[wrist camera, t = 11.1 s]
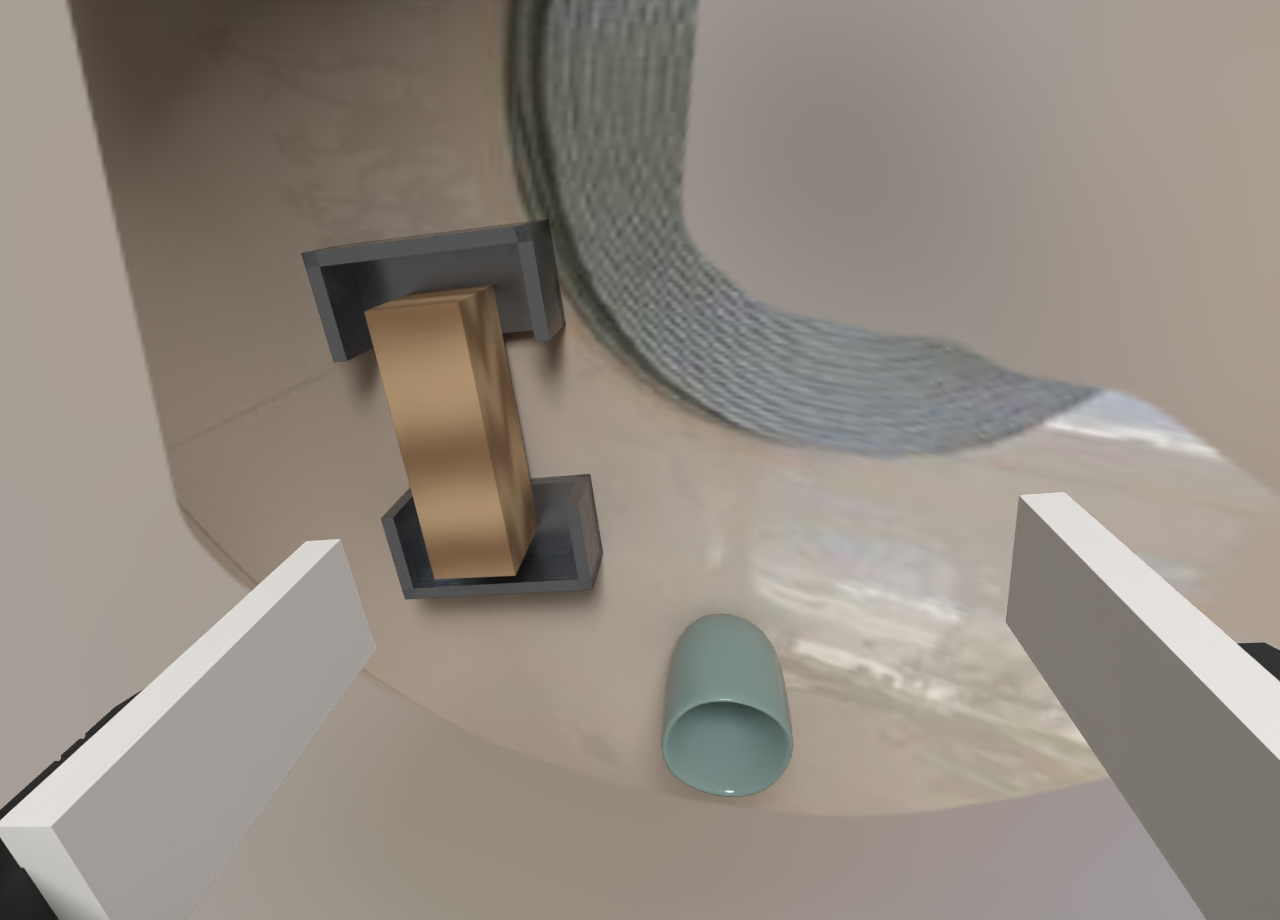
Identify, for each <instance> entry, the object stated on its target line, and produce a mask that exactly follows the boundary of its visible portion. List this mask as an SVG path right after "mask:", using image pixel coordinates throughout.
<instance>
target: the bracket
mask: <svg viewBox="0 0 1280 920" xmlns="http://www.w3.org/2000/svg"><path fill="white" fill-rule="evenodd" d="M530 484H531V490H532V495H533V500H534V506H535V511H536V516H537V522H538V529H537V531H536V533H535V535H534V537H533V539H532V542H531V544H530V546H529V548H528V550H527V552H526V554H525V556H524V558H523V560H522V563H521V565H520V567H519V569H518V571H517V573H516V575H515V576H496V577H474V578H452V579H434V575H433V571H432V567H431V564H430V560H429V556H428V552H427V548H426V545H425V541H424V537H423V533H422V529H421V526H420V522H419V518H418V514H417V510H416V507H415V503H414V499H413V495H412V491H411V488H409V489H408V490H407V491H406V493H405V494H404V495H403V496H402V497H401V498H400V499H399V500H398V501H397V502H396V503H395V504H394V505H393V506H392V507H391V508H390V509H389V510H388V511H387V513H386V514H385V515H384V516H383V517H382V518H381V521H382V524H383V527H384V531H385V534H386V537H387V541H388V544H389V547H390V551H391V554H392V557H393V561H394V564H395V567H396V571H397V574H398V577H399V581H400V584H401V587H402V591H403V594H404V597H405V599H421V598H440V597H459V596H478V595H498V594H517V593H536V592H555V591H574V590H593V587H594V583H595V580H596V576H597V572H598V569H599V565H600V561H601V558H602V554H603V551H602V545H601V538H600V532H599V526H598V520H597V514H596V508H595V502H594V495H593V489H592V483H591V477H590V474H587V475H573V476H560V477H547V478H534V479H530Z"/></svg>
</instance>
